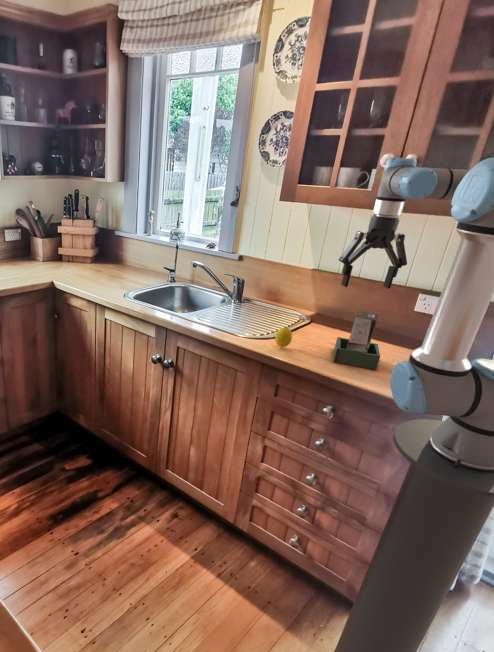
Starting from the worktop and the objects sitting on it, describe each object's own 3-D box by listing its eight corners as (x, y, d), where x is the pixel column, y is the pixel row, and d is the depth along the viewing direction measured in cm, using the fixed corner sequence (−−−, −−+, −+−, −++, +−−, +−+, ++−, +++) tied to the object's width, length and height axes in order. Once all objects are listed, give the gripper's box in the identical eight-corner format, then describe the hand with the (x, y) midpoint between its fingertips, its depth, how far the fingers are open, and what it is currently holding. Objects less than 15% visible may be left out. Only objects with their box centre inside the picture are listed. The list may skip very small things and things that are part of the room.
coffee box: (362, 366, 155) (376, 320, 148) (342, 361, 158) (355, 316, 150) (365, 357, 162) (379, 313, 155) (345, 353, 165) (358, 309, 157)
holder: (375, 370, 153) (380, 356, 150) (333, 362, 157) (337, 348, 155) (373, 357, 162) (377, 343, 160) (333, 349, 167) (337, 336, 165)
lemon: (273, 349, 164) (277, 328, 161) (273, 343, 169) (278, 323, 166) (289, 352, 163) (294, 330, 159) (289, 346, 168) (294, 325, 164)
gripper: (419, 216, 140) (397, 284, 149) (338, 212, 139) (321, 281, 149) (435, 219, 133) (411, 291, 143) (350, 215, 132) (331, 288, 142)
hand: (365, 286), depth 146 cm, fingers open, 13 cm apart
